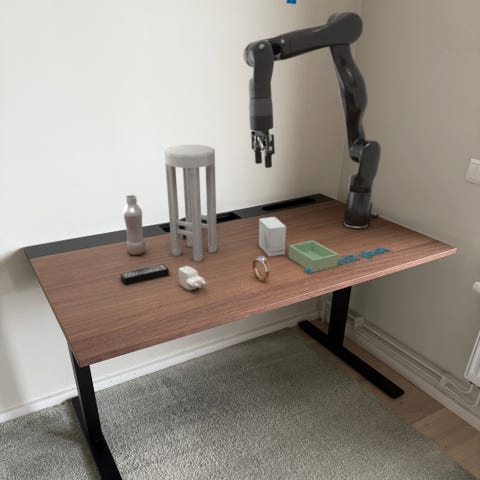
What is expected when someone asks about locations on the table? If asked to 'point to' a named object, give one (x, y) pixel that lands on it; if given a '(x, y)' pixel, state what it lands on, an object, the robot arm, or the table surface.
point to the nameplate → (355, 258)
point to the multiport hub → (144, 274)
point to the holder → (313, 255)
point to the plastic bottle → (134, 226)
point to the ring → (266, 266)
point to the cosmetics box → (272, 236)
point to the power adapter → (190, 278)
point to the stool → (191, 196)
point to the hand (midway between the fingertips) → (263, 165)
